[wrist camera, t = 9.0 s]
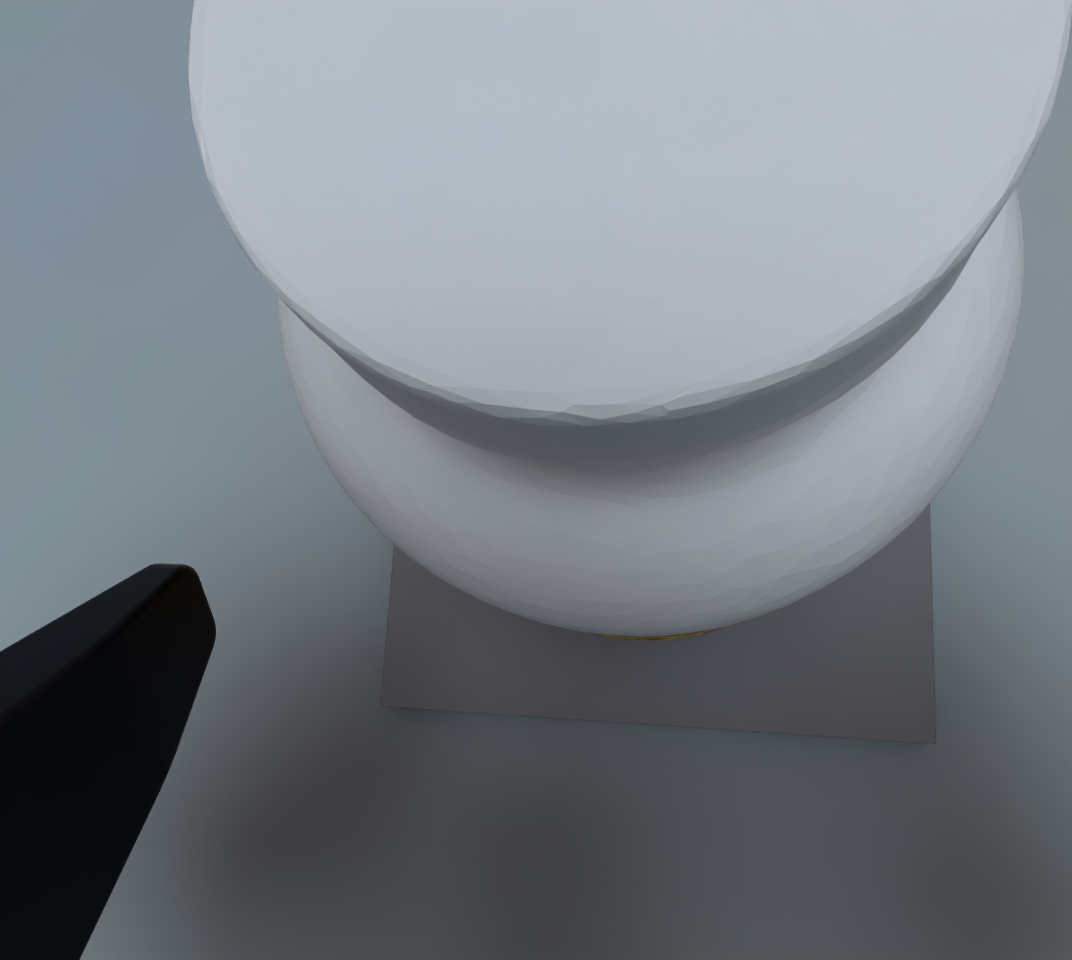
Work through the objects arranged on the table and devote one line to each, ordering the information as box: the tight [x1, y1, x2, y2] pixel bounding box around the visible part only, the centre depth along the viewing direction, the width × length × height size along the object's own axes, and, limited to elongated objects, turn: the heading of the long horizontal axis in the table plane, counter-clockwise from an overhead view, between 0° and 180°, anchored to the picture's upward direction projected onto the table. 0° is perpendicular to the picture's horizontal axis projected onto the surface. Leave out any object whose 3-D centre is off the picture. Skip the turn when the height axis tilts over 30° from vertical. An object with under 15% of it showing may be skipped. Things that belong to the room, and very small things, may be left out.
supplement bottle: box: [188, 0, 1072, 641], centre depth 11 cm, size 7×7×13 cm
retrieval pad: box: [381, 503, 936, 744], centre depth 17 cm, size 10×10×1 cm
